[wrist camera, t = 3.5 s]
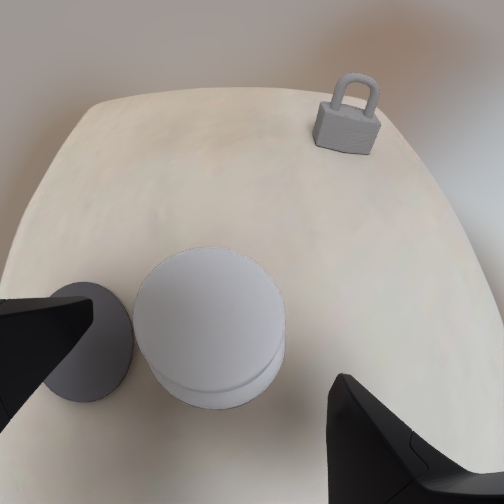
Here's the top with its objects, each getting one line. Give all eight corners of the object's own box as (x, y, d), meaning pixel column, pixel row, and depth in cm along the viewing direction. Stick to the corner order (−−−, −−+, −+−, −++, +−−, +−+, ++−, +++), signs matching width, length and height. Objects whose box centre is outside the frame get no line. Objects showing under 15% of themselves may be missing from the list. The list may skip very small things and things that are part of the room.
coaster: (103, 426, 13) (99, 426, 12) (21, 359, 14) (16, 357, 13) (154, 314, 17) (152, 311, 17) (68, 269, 19) (65, 265, 18)
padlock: (361, 140, 32) (384, 76, 23) (370, 158, 30) (398, 90, 21) (311, 131, 31) (327, 61, 23) (316, 149, 29) (336, 72, 21)
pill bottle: (278, 343, 17) (326, 269, 9) (246, 422, 14) (266, 441, 6) (198, 311, 18) (173, 214, 10) (161, 385, 15) (86, 351, 7)
